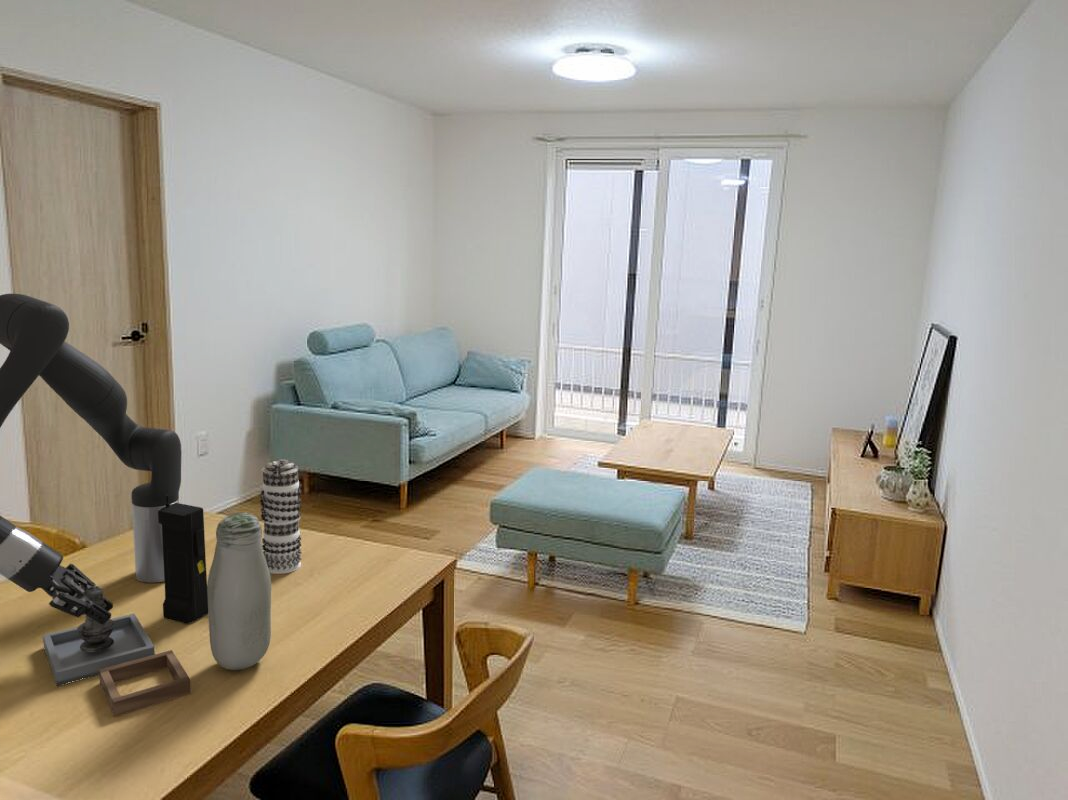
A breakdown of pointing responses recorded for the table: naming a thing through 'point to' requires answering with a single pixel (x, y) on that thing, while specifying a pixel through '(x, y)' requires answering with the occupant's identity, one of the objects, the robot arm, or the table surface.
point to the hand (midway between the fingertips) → (108, 614)
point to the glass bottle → (239, 594)
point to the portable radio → (184, 562)
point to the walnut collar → (148, 695)
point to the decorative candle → (281, 516)
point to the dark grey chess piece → (95, 625)
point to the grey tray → (79, 664)
